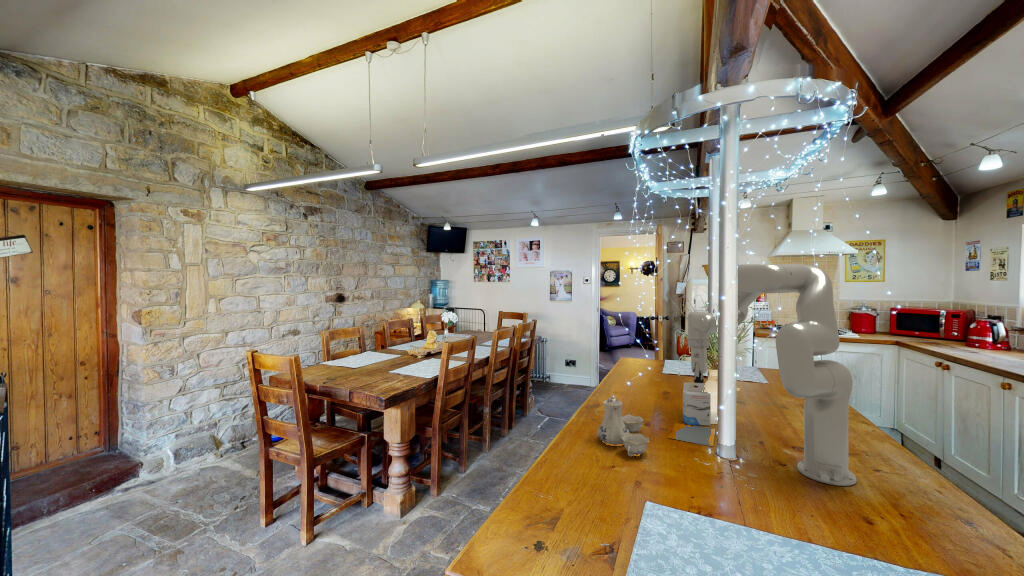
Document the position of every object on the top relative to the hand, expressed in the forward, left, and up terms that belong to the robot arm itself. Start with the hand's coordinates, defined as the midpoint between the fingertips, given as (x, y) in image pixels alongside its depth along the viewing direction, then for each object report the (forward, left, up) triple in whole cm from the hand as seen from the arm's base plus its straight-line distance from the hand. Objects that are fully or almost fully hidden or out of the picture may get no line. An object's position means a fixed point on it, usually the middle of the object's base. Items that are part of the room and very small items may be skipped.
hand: (699, 389), depth 152 cm
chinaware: (-38, +20, -11) cm, 45 cm away
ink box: (-9, 0, -11) cm, 14 cm away
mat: (-20, 0, -11) cm, 23 cm away
